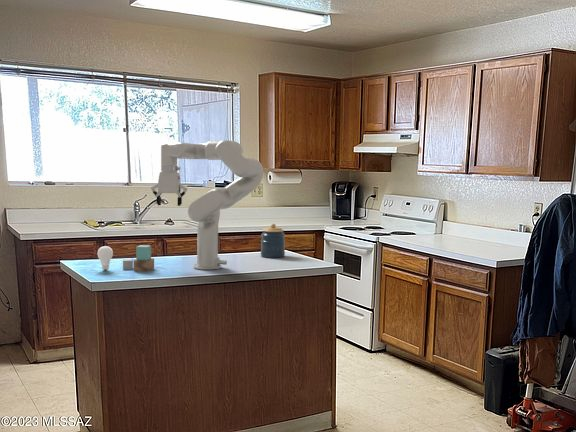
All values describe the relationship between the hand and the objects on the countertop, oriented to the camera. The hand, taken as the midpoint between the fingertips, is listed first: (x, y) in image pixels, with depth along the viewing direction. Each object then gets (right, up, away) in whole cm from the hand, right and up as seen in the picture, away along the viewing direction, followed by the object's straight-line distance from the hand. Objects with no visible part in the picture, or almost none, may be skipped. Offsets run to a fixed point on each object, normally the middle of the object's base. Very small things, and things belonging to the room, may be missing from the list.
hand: (169, 205), depth 251 cm
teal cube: (-8, -25, -14) cm, 29 cm away
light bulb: (-25, -30, -17) cm, 42 cm away
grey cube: (-16, -29, -11) cm, 35 cm away
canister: (+48, -27, +31) cm, 64 cm away
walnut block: (-8, -30, -13) cm, 33 cm away
